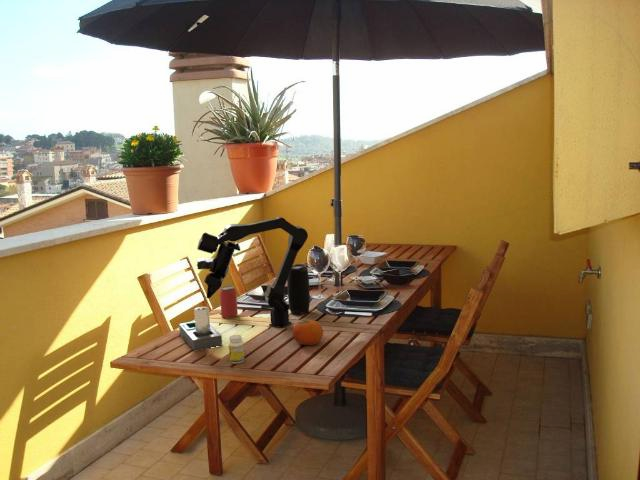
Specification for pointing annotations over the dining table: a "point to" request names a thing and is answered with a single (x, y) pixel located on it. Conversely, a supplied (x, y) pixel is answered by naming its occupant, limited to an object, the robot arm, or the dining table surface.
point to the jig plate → (199, 342)
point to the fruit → (307, 332)
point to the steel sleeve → (202, 321)
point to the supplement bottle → (236, 349)
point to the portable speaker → (298, 289)
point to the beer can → (228, 302)
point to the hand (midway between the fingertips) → (210, 293)
